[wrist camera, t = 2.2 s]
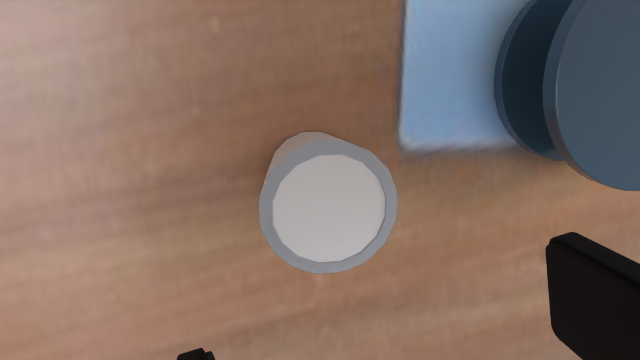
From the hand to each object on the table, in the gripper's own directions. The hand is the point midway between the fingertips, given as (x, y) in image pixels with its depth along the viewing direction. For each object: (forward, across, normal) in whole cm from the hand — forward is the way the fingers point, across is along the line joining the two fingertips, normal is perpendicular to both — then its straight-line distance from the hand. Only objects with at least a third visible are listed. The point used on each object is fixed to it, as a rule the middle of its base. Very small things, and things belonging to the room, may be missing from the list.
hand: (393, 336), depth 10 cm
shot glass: (+16, 0, 0) cm, 16 cm away
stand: (+16, -19, -2) cm, 25 cm away
